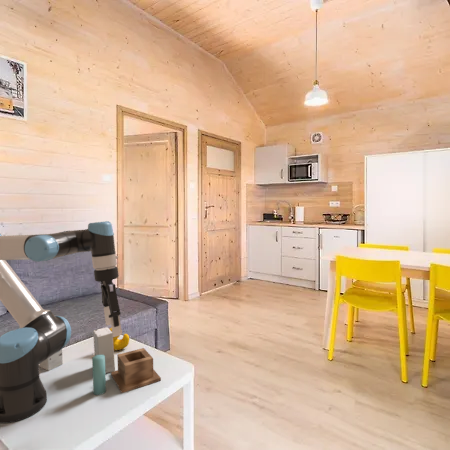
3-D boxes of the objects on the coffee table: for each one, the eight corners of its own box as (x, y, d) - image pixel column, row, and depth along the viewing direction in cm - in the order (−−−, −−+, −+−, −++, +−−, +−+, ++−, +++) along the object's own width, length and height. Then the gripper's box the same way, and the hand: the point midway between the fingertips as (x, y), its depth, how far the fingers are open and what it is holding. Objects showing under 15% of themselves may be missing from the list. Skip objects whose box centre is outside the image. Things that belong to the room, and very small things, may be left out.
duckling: (101, 354, 138) (100, 331, 137) (102, 348, 143) (102, 326, 143) (129, 350, 141) (128, 328, 140) (129, 345, 146) (129, 323, 146)
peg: (94, 396, 108) (93, 361, 107) (92, 390, 111) (91, 356, 111) (107, 392, 110) (106, 358, 109) (104, 386, 114) (103, 353, 113)
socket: (121, 393, 110) (121, 370, 109) (111, 374, 122) (110, 353, 121) (160, 380, 118) (160, 359, 117) (147, 364, 129) (146, 344, 129)
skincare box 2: (115, 371, 124) (114, 333, 123) (98, 375, 121) (97, 336, 120) (109, 362, 131) (108, 326, 130) (93, 366, 128) (92, 329, 127)
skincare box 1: (48, 371, 124) (47, 352, 124) (39, 367, 127) (38, 348, 127) (63, 364, 130) (62, 346, 129) (53, 360, 133) (53, 343, 132)
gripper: (125, 270, 100) (133, 337, 101) (110, 262, 122) (117, 317, 123) (99, 274, 96) (108, 344, 97) (89, 265, 118) (96, 322, 119)
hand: (113, 329), depth 110 cm, fingers open, 13 cm apart
